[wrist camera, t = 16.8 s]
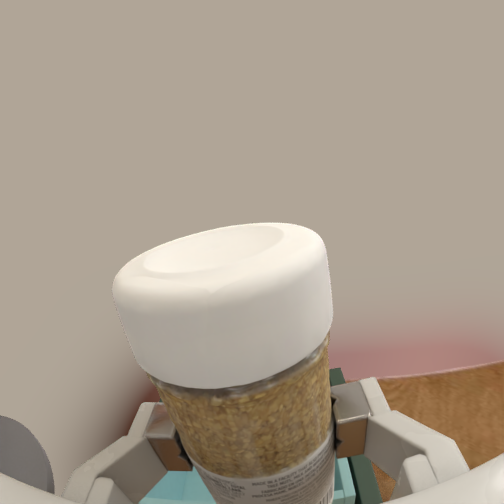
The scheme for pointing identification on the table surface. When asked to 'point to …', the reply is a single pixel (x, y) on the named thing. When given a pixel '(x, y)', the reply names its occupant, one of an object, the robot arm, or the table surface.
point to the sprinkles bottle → (240, 356)
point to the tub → (200, 500)
